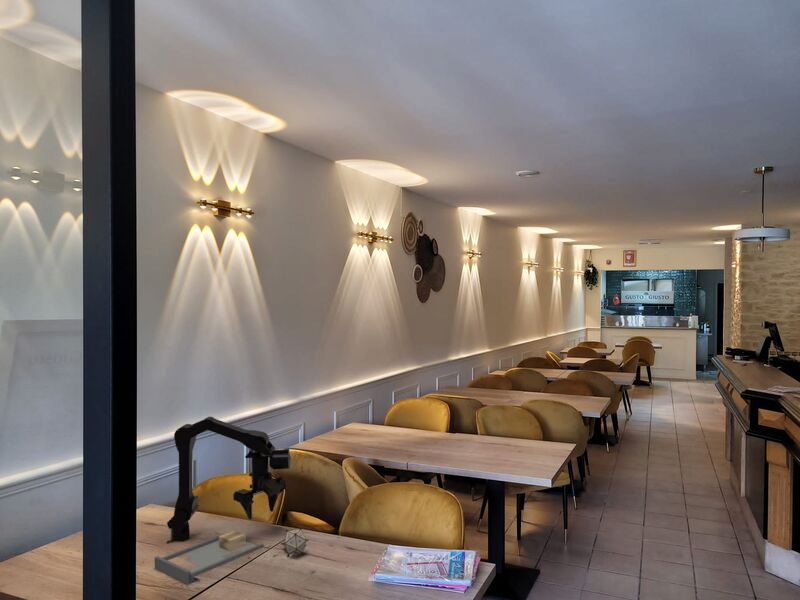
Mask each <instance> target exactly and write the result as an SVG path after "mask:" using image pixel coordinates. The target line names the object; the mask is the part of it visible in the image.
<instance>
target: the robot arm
mask: <svg viewBox="0 0 800 600" xmlns="http://www.w3.org/2000/svg"><path fill="white" fill-rule="evenodd" d="M206 431H210V432H212V433H215V434H218V435H220V436H224V437H226V438H229V439H232V440H234V441H237V442H239V443H241V444H242V445H243V446H245V447H246V448H247V449H249V451H248V453H247V454H246V455H245V456H244V457H245V459H251V460H250V461H251V462H250V463H251V464H250V465H251V472H248V473H249V474H248V476H249V477H251V484H249V489H250V490H249V489H245V488H242V489H239V490H236V491H234V492H233V497H232V498H233V501H236V502H237V503H240V505H241V507H242V509H243V510H244V512H245V515H246V516H247V518H248V520H252V518H253V503H254V501H255V500H253V499H254V496H257V495H258V494H263V493H264V494H266V496H267V500H268V508H269V512H271V513H272V512H274V509H275V507H276V503H277V500H278V497H279V495H281V494H282V493H283V492H285V491H284V490H287V482H286V480H285V479H284V478H283V477H282V476H280V477H279V476H278V477H276V478H273V475H272V472H270V471H269V469H270V468H271V469H272V470H273V471H274V470H290V469H291V464H292V463H291V460H292V459H291V458H292V457H291V452H290V448H282V449H281V448H280V449H276V447H275V446H274V444H273V443H272V442H271V441H270V437H269V435H268V434H267V433H266V432H265V431H260V430H255V429H253V430H252V429H245V428H241V427H240V426H237V425H233V424H231V423H228V422H225V421H222V420H219V419H217V418H215V417H213V416H207V417H205V418H204V419H202V420H199V421H196V422H194V423H192V424H191V423H186V424H183V425H181V426H180V427H179V428H177V429H176V430H175V432H174V434H173V438H174V443H175V447H176V450H177V452H178V496H177V499H176V502H175V505H174V510H173V511H174V513H173V516H172V517H171V518H170V519H169V520H168V521H167V522H166V524H167V525H166V526H167V527H168V530H170V539H169V540H167V541H166V543H167V544H171V543H174V542H182V543H183V542H186V541H189V540H190V539H191V536H190V524H189V521H190V520H191V518H192V517H193V516H194V514H196V512H197V510H198V508H199V507H200V506H199V502H198V501H199V495H195V494H194V492H193V450H194V447H195V443H196V439H197V436H199V435H201V434H203V433H204V432H206ZM269 467H270V468H269Z"/></svg>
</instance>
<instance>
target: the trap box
mask: <svg viewBox="0 0 800 600" xmlns="http://www.w3.org/2000/svg"><path fill="white" fill-rule="evenodd" d="M229 532H230V531H229ZM229 532H226V533H223V534H221V535H218V536H215V537H212V538H210V539H207V540H204V541H202V542H200V543H197V544H193V545H191V546H189V547H187V548H183V549H181V550H178V551H175V552H174V553H170V554H168V555H165V556H163V557H161V556H158V555H157V556H154V569H155V570H156V571H160V572H161V573H163V574H166V575H167V576H169V577H172V578H174V579H175V580H177V581H179V582H182V583H183V584H186V585H190V584H192V583H194V582H197V581H199V580H200V579H199V578H198V577H197V576H199V575H202V574H204V573H207V572H209V571H211V570H214V569H216V568H217V567H220V566H223V565H226V564H229V562H231V561H235V560H236V559H239V558H241V557H243V556H247V555H248V554H251V553H254V552H255V551H259V550H261V549H263V548H264V543H259V544H254V543H251V542H249V541H246V545H245V546H243V547H240V548H238V549H236V550H233V551H231V552H230V551H228V550H225V549H222V548H220V547H219V536H222V535H224V534H227V533H229ZM237 551H238V552H237ZM234 552H237V553H234ZM232 553H234V554H232ZM230 554H232V555H230ZM182 555H184V556H186V557H187V558H185V559H184V560H185V561H186V562H188V563H191V564H193V565H196V567H193V568H191V569H187V568H185V567H183V566H180V565H178V564H176V563H174V562H171V561H170V560H172V559H174V558H177V557H180V556H182ZM227 555H229V556H228V557H226V558H225V557H224V556H227Z"/></svg>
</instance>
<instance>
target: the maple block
mask: <svg viewBox="0 0 800 600" xmlns="http://www.w3.org/2000/svg"><path fill="white" fill-rule="evenodd" d="M226 533H227V534H225V533H223V534H224V535H223V534H221V535H222V536H220V535H218V536H219V547H220V548H222V549H225V550H228V551H230V552H231V551H233V550H236V549H238V548H240V547H243V546H245V545H246V542H247V541H246V540H247V537H246V534H244V533H243V532H239V531H237V530H232V531H229V533H228V532H226Z"/></svg>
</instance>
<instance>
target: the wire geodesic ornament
mask: <svg viewBox="0 0 800 600" xmlns="http://www.w3.org/2000/svg"><path fill="white" fill-rule="evenodd" d="M302 529H303V527H302V526H301V527H300V528H299V529H293V530H288V529H287V528H286V529H285V532H286V533H285V536H284V538H283V542H281V543H280V545H281V546H283V547H284V549H285V551H286V552H287V553H288V554H287V555H286V557H287V558H289V556H290V555H297V554H301V555H304V554H305V553H304V550H305V546H306V543H307V542H308V541H309V539H307V538H306V536H305V535H304V533H303V531H302Z"/></svg>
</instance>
